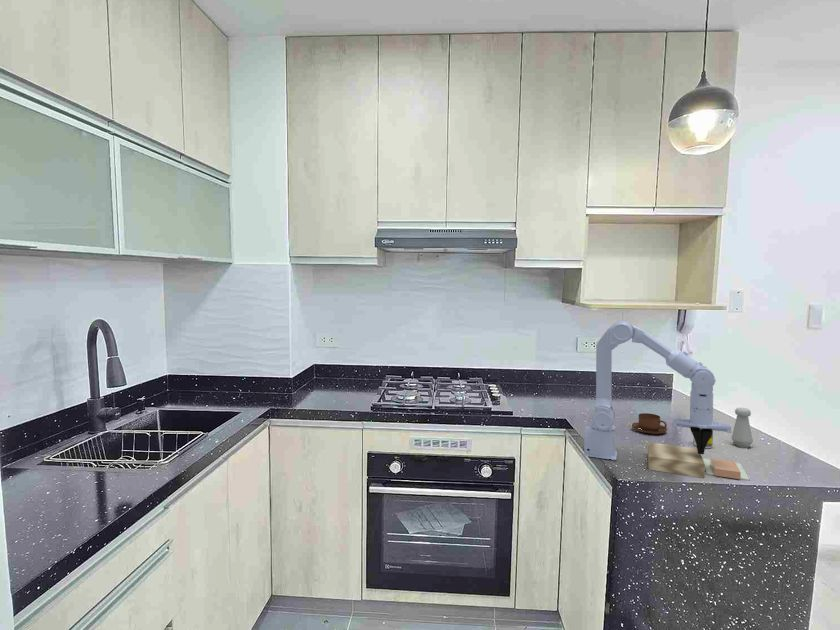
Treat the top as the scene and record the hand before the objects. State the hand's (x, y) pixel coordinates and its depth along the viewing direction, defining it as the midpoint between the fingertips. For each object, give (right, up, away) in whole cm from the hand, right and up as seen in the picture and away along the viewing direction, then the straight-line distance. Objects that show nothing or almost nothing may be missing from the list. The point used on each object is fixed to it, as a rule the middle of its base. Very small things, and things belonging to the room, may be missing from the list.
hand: (700, 453), depth 130 cm
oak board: (-6, -5, +3) cm, 8 cm away
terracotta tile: (+5, -3, -3) cm, 6 cm away
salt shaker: (+27, -4, +20) cm, 34 cm away
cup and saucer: (+4, -4, +37) cm, 37 cm away
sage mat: (+7, -5, 0) cm, 8 cm away
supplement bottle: (+14, -4, +20) cm, 25 cm away
